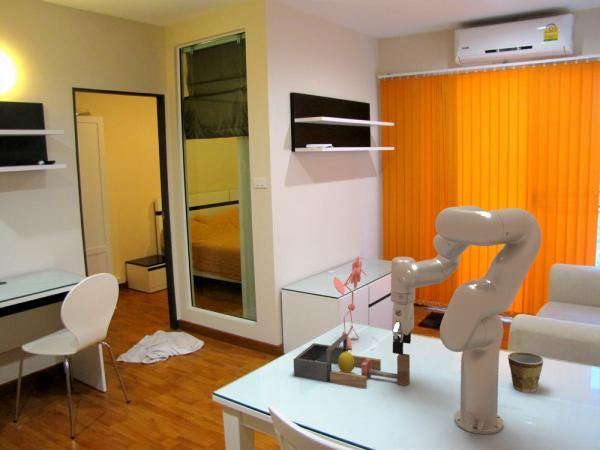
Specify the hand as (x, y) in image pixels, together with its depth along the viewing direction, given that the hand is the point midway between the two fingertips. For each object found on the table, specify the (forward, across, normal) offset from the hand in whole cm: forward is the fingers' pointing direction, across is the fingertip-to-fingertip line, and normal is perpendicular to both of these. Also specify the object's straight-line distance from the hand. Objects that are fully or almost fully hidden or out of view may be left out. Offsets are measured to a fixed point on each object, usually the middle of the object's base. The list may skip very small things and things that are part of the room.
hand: (401, 348), depth 167 cm
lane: (+12, -1, +15) cm, 19 cm away
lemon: (+12, -1, +19) cm, 22 cm away
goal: (+12, -1, +27) cm, 30 cm away
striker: (+11, -1, +5) cm, 12 cm away
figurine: (+13, +27, +24) cm, 39 cm away
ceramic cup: (+11, +11, -36) cm, 39 cm away
